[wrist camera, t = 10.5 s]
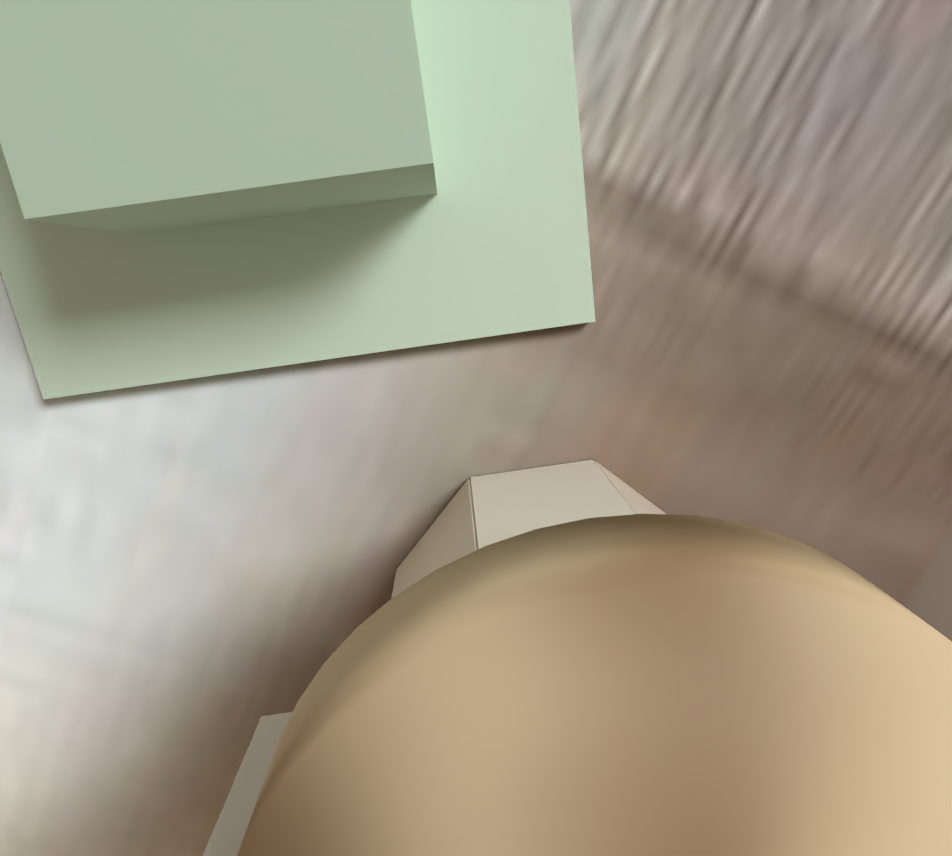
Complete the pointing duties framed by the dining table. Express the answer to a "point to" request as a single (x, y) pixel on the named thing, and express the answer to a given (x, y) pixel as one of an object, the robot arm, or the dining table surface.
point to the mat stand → (283, 181)
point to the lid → (623, 707)
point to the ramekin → (517, 511)
